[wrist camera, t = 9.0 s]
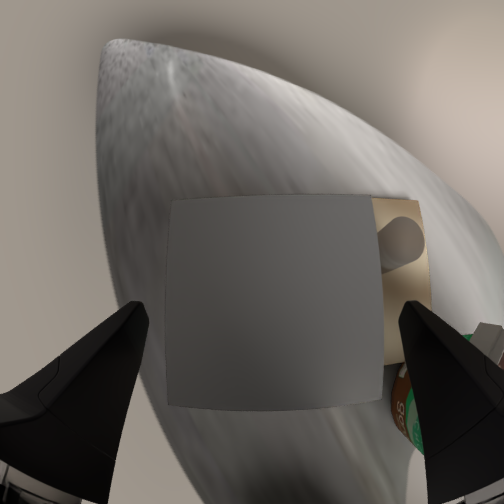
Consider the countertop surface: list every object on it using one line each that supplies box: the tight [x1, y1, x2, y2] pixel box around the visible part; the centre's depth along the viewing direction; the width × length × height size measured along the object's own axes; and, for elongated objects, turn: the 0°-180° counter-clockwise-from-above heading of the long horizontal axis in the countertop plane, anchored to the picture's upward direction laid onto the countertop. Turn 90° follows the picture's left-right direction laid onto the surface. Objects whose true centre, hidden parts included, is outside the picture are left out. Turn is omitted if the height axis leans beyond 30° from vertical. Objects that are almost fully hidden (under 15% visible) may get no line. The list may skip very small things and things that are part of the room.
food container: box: [391, 322, 504, 500], centre depth 10 cm, size 12×6×10 cm, turn 38°
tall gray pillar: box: [165, 194, 384, 411], centre depth 11 cm, size 5×5×10 cm
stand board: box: [372, 198, 432, 365], centre depth 14 cm, size 11×15×5 cm
